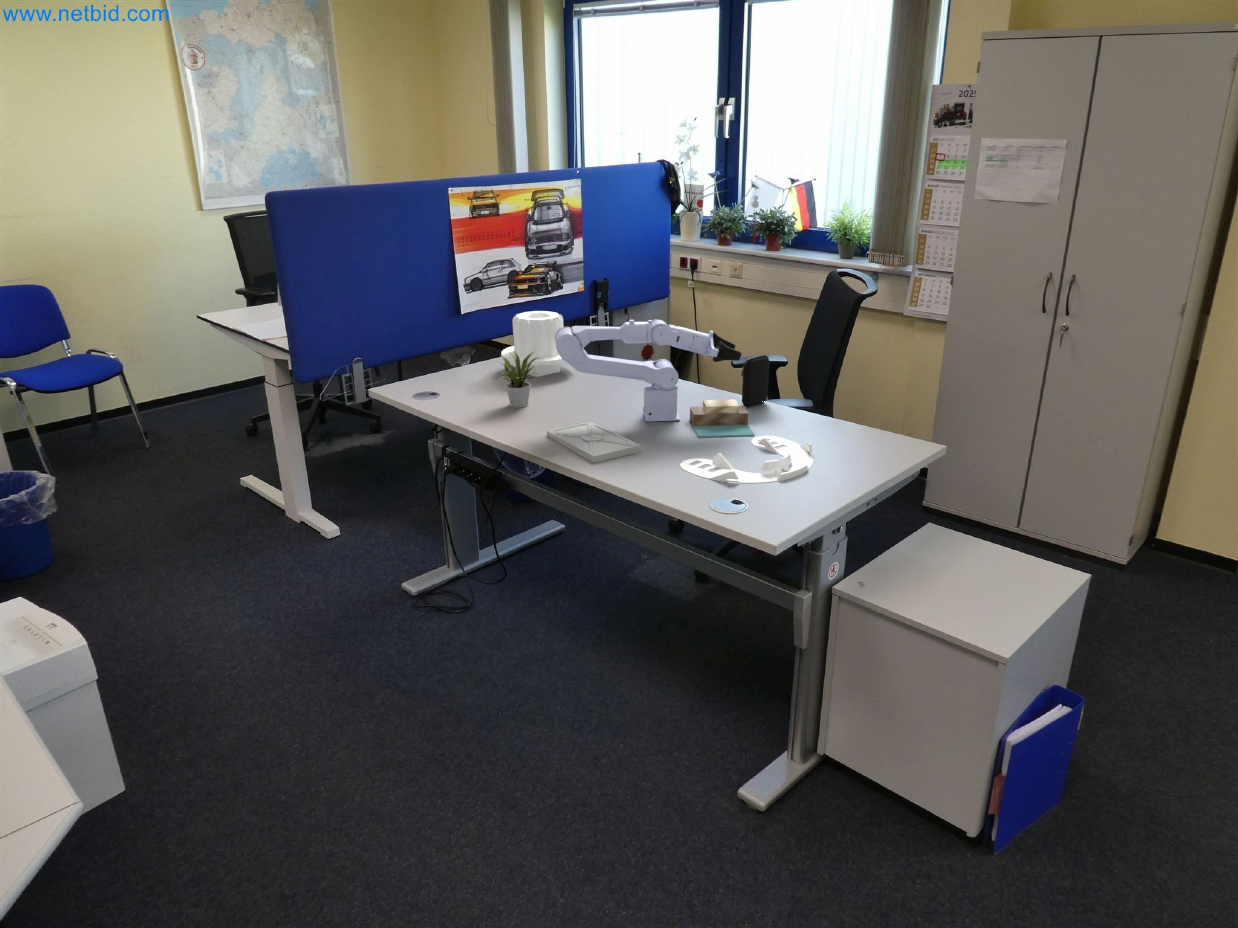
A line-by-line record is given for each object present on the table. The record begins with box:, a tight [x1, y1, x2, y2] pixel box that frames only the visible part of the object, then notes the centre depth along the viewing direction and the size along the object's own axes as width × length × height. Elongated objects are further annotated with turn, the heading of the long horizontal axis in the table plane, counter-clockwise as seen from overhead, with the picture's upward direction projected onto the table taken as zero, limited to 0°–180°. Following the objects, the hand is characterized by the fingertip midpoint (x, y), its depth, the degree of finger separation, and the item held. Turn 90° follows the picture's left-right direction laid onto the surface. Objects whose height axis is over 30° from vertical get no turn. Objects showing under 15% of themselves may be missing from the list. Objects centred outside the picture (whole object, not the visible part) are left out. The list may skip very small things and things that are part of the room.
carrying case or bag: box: [740, 354, 770, 409], centre depth 248 cm, size 11×3×15 cm, turn 128°
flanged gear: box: [500, 310, 567, 378], centre depth 283 cm, size 25×25×19 cm
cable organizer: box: [679, 435, 814, 484], centre depth 209 cm, size 35×24×3 cm
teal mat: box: [693, 424, 755, 438], centre depth 230 cm, size 15×8×1 cm, turn 94°
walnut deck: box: [689, 404, 749, 428], centre depth 237 cm, size 15×7×4 cm, turn 94°
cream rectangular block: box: [702, 398, 740, 414], centre depth 236 cm, size 9×6×2 cm, turn 94°
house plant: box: [496, 351, 540, 409], centre depth 250 cm, size 14×14×16 cm
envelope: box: [546, 421, 641, 463], centre depth 222 cm, size 24×2×14 cm
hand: (737, 352), depth 237 cm, fingers open, 7 cm apart
